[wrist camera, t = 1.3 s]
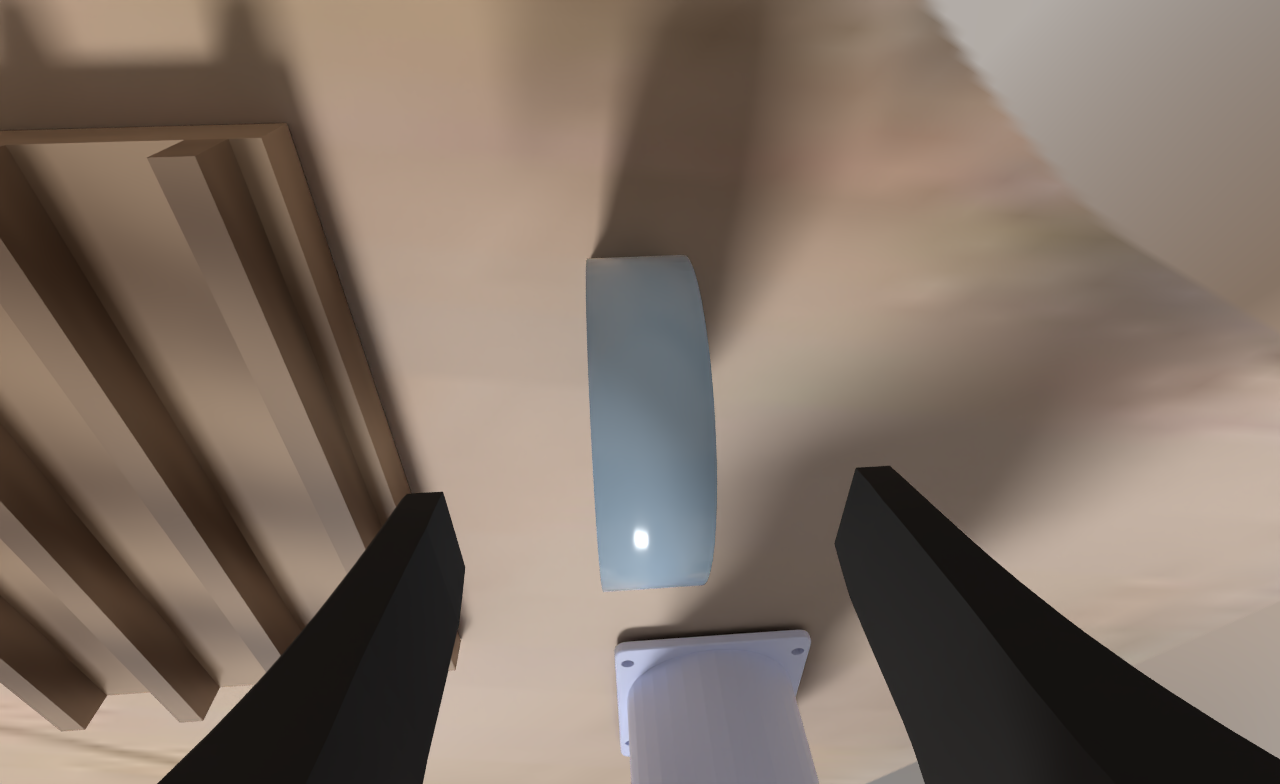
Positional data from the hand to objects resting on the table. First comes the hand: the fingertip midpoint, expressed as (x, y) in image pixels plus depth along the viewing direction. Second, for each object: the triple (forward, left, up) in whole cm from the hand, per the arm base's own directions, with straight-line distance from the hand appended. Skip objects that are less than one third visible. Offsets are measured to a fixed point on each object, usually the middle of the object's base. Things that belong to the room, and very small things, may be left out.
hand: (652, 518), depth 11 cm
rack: (-4, +14, -6) cm, 16 cm away
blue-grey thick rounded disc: (0, 0, -6) cm, 6 cm away
